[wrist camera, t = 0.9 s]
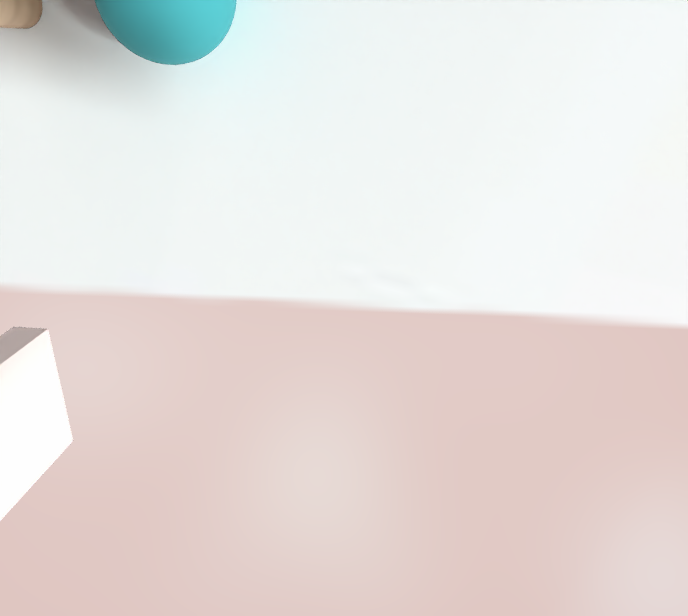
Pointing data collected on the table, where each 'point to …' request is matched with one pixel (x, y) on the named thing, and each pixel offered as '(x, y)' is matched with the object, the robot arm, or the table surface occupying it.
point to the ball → (168, 27)
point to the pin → (20, 13)
